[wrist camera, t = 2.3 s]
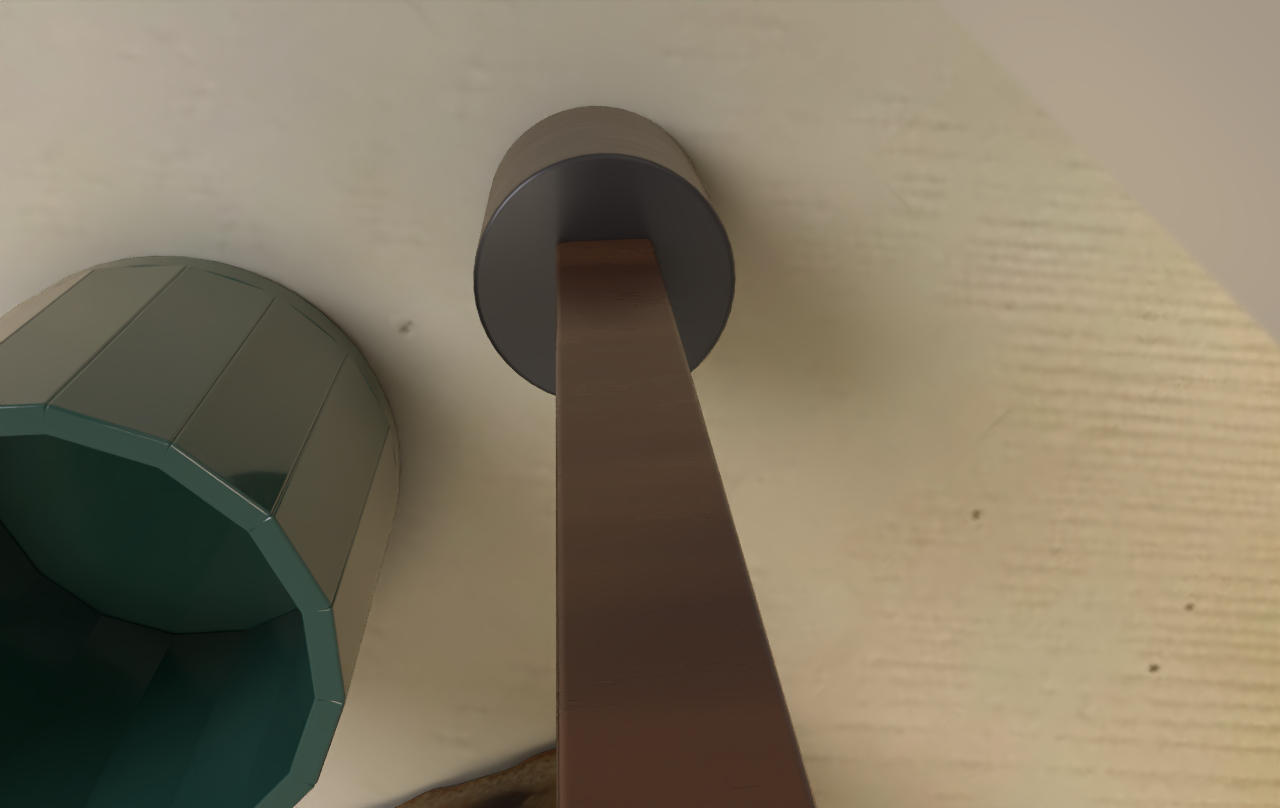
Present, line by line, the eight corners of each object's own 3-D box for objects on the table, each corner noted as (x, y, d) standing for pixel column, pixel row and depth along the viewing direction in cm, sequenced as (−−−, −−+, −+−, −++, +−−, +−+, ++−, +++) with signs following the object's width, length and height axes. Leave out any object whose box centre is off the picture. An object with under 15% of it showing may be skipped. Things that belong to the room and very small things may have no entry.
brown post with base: (480, 109, 24) (32, 1340, 3) (702, 101, 24) (1539, 1213, 4) (495, 320, 25) (260, 1986, 5) (702, 311, 26) (1269, 1872, 5)
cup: (-73, 263, 24) (-351, 421, 17) (378, 246, 25) (302, 392, 17) (25, 641, 28) (-168, 909, 20) (419, 619, 28) (370, 875, 21)
